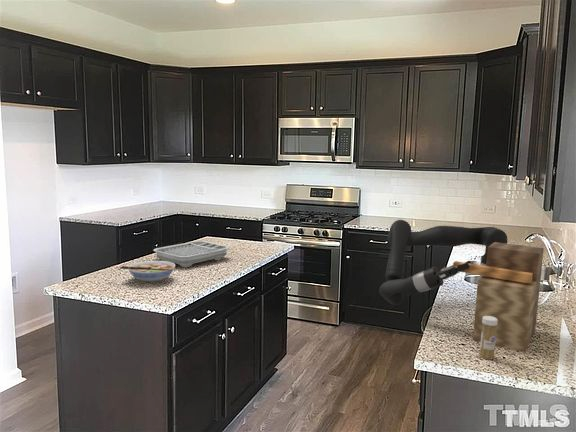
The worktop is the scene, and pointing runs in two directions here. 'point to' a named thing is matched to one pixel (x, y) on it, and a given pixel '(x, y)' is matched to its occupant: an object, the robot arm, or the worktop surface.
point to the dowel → (497, 272)
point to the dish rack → (191, 252)
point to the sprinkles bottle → (488, 337)
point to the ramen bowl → (150, 270)
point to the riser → (510, 295)
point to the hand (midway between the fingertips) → (469, 264)
